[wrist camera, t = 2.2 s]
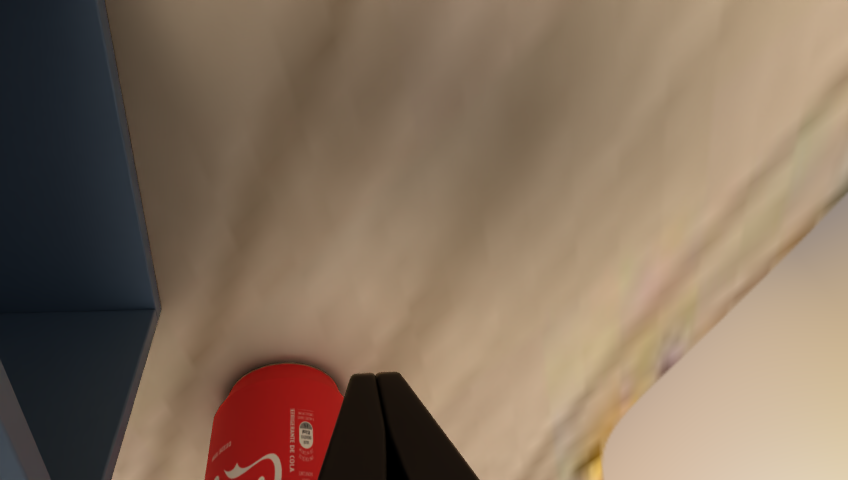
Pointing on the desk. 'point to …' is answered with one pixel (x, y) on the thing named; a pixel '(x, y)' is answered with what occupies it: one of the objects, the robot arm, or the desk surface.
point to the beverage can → (274, 425)
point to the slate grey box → (67, 246)
